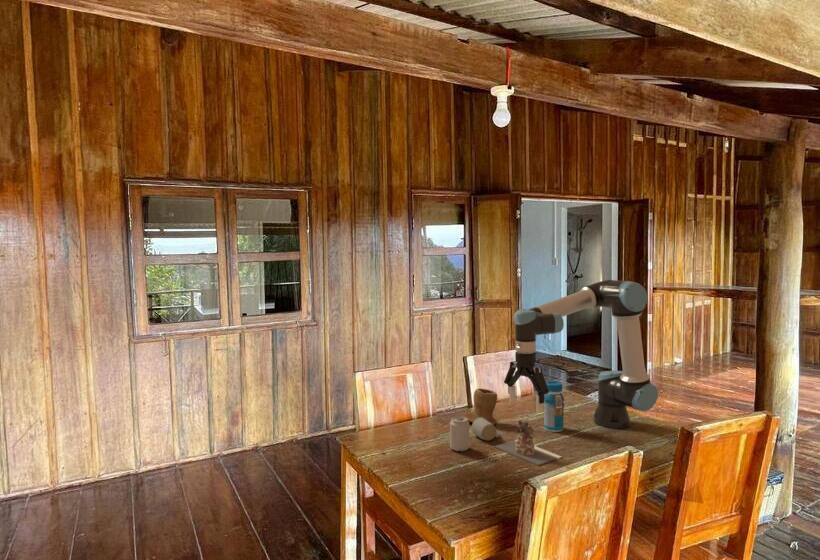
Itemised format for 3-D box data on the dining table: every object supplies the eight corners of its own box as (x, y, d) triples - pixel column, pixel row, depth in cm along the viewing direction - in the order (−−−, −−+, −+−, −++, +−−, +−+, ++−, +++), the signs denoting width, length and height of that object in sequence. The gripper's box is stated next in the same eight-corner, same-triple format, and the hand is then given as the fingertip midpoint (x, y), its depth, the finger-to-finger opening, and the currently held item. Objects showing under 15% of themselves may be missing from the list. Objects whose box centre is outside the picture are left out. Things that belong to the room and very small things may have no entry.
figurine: (530, 456, 198) (531, 425, 198) (512, 453, 202) (512, 422, 201) (536, 450, 205) (537, 419, 204) (519, 446, 208) (519, 416, 207)
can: (471, 446, 210) (471, 416, 210) (466, 453, 203) (466, 422, 203) (452, 444, 213) (452, 414, 212) (447, 451, 206) (447, 420, 205)
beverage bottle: (542, 431, 227) (542, 384, 226) (544, 424, 235) (545, 380, 234) (562, 433, 224) (563, 386, 223) (564, 427, 232) (565, 381, 231)
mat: (512, 441, 215) (512, 440, 215) (556, 459, 197) (556, 458, 197) (494, 447, 209) (494, 446, 209) (538, 465, 192) (538, 464, 192)
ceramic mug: (482, 443, 214) (482, 424, 213) (471, 436, 221) (471, 418, 221) (504, 439, 219) (504, 420, 218) (492, 433, 226) (492, 415, 226)
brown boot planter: (502, 422, 239) (502, 389, 238) (488, 429, 230) (488, 395, 229) (474, 415, 248) (474, 383, 247) (459, 422, 239) (459, 389, 238)
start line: (517, 440, 217) (517, 439, 217) (561, 457, 199) (561, 456, 199) (514, 441, 216) (514, 440, 216) (558, 458, 198) (558, 457, 198)
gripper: (494, 347, 209) (495, 401, 210) (544, 358, 189) (545, 417, 190) (508, 345, 213) (508, 397, 215) (558, 355, 193) (558, 413, 194)
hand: (525, 407), depth 202 cm, fingers open, 13 cm apart
